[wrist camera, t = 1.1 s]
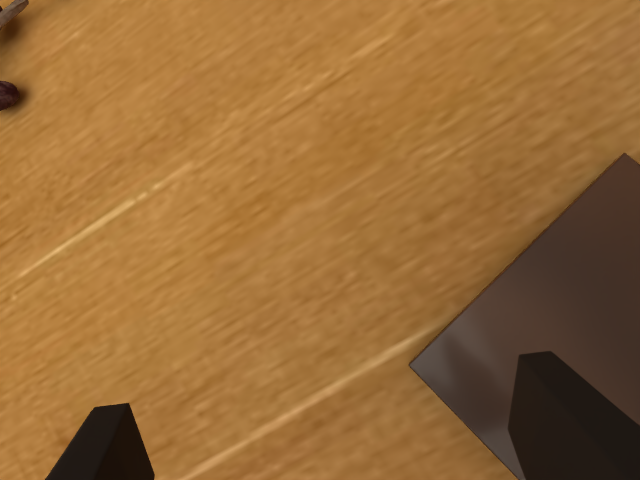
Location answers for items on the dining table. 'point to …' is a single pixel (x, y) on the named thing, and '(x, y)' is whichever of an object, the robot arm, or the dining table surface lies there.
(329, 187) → the dining table surface
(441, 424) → the dining table surface
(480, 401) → the desk pad
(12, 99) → the decorative branch
